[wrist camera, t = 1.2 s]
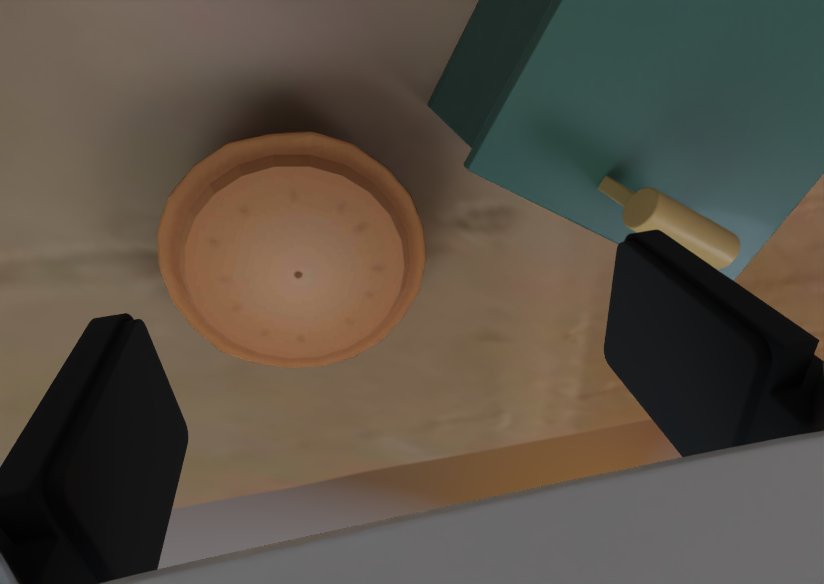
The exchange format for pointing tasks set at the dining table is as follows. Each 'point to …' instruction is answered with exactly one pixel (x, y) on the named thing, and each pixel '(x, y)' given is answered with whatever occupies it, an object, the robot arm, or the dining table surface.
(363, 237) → the pie
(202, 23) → the dining table surface
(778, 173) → the bread bin lid
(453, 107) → the bread bin
